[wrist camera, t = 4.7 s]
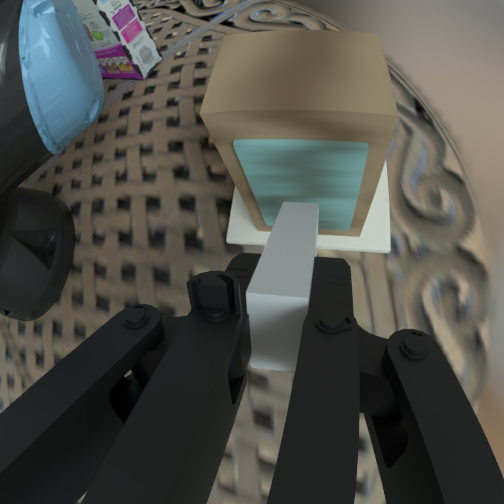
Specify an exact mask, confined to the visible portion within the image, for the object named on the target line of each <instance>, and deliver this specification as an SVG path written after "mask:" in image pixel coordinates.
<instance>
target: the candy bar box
mask: <svg viewBox="0 0 504 504" xmlns="http://www.w3.org/2000/svg"><path fill="white" fill-rule="evenodd" d="M72 2H73V3H74V5H75V7H76V9H77V11H78V13H79V16H80V18H81V20H82V22H83V25H84V27H85V29H86V32H87V34H88V37H89V39H90V42H91V44H92V47H93V50H94V53H95V56H96V59H97V62H98V65H99V68H100V72H101V76H102V79H141V80H144V79H146V77H147V76H148V75H149V74H150V73H151V72H152V71H153V69H154V68H155V67H156V66H157V65H158V64H159V63H160V62H161V60H162V59H163V57H162V55H161V53H160V51H159V49H158V48H157V46H156V44H155V42H154V40H153V38H152V36H151V35H150V33H149V31H148V29H147V27H146V25H145V23H144V22H143V20H142V18H141V16H140V15H139V13H138V11H137V9H136V7H135V5H134V3H133V1H132V0H72Z"/></svg>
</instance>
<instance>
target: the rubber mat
mask: <svg viewBox="0 0 504 504" xmlns="http://www.w3.org/2000/svg"><path fill="white" fill-rule="evenodd" d="M270 233H271V232H264V231H258V230H257V228H256V226H255V224H254V222H253V220H252V218H251V216H250V214H249V212H248V210H247V208H246V206H245V203H244V201H243V199H242V197H241V195H240V193H239V191H238V189H237V187H236V185H235V189H234V195H233V201H232V207H231V214H230V220H229V226H228V233H227V239H226V241H227V242H228V243H232V244H249V245H266V243H267V240H268V238H269V235H270ZM317 249H332V250H348V251H363V252H379V253H389V252H390V214H389V195H388V180H387V168H386V160H385V164H384V167H383V170H382V173H381V176H380V179H379V183H378V186H377V189H376V192H375V195H374V198H373V201H372V204H371V206H370V209H369V212H368V215H367V218H366V221H365V224H364V226H363V229H362V232H361V235H360V237H351V236H335V235H318V237H317Z"/></svg>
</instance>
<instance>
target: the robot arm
mask: <svg viewBox="0 0 504 504" xmlns="http://www.w3.org/2000/svg"><path fill="white" fill-rule="evenodd" d="M103 105H104V85H103V80H102V76H101V72H100V68H99V65H98V62H97V59H96V56H95V53H94V50H93V47H92V44H91V42H90V39H89V37H88V34H87V32H86V29H85V27H84V25H83V22H82V20H81V18H80V16H79V13H78V11H77V9H76V7H75V5H74V3H73V2H72V0H0V313H1V314H3V315H4V316H6V317H9V318H12V319H17V320H22V321H31V320H34V319H37V318H39V317H40V316H42V315H43V314H44V313H45V312H47V311H48V310H49V308H50V307H51V306H52V305H53V304H54V302H55V301H56V299H57V298H58V296H59V294H60V292H61V291H62V289H63V286H64V284H65V282H66V279H67V276H68V273H69V270H70V267H71V263H72V258H73V252H74V239H75V237H74V225H73V220H72V216H71V214H70V212H69V210H68V208H67V207H66V205H65V204H64V203H63V202H61V201H60V200H58V199H57V198H55V197H54V196H52V195H51V194H49V193H47V192H44V191H39V190H34V189H28V188H22V187H18V186H19V185H20V184H21V183H22V182H23V181H24V180H25V179H27V178H28V177H29V176H30V175H31V174H32V173H34V172H35V171H36V170H37V169H38V168H39V167H41V166H42V165H43V164H44V163H46V162H47V161H48V160H49V159H50V158H52V157H53V156H54V155H59V154H60V153H61V152H63V150H64V149H65V148H66V145H67V144H68V143H69V142H71V141H72V140H73V139H74V138H75V137H77V136H78V135H79V134H80V133H82V132H83V131H84V130H85V129H87V128H88V127H89V126H91V125H92V124H93V123H94V122H95V121H96V120H97V118H98V117H99V115H100V113H101V111H102V108H103ZM318 215H319V203H300V202H283V204H282V206H281V209H280V211H279V213H278V216H277V218H276V221H275V223H274V226H273V228H272V231H271V233H270V235H269V238H268V240H267V243H266V245H265V248H264V250H263V252H262V254H254V253H240V254H239V255H237V256H236V257H235V258H233V259H232V260H231V262H230V263H229V265H228V267H227V270H225V272H223V271H208V272H204V273H200V274H198V275H196V276H194V277H192V278H191V279H190V280H189V281H188V282H187V289H188V294H189V299H190V304H191V311H190V312H189V314H188V315H187V316H181V317H171V318H161V315H160V313H159V311H158V309H157V308H155V307H153V306H152V305H147V304H137V305H133V306H130V307H127V308H125V309H123V310H122V311H120V312H119V313H118V314H116V315H115V316H114V317H113V318H111V319H110V320H109V321H108V322H107V323H105V324H104V325H103V326H102V327H100V328H99V329H98V330H97V331H96V332H94V333H93V334H92V335H91V336H90V337H88V338H87V339H86V340H85V341H84V342H82V343H81V344H80V345H79V346H78V347H76V348H75V349H74V350H73V351H72V352H70V353H69V354H68V355H67V356H66V357H65V358H63V359H62V360H61V361H60V362H59V363H58V364H56V365H55V366H54V367H53V368H52V369H51V370H49V371H48V372H47V373H46V374H45V375H44V376H42V377H41V378H40V379H39V380H38V381H37V382H36V383H34V384H33V385H32V386H31V387H30V388H29V389H28V390H26V391H25V392H24V393H23V394H22V395H21V396H20V397H19V398H17V399H16V400H15V401H14V402H13V403H12V404H11V405H10V406H8V407H7V408H6V409H5V410H4V411H3V412H2V413H1V414H0V504H75V503H76V502H77V501H78V500H79V499H80V498H81V497H82V496H83V495H84V494H85V492H86V491H87V490H88V491H87V493H86V495H85V497H84V498H83V500H82V502H81V504H206V503H207V500H208V498H209V495H210V492H211V489H212V486H213V483H214V480H215V478H216V475H217V472H218V469H219V466H220V463H221V460H222V457H223V454H224V451H225V448H226V445H227V442H228V439H229V436H230V433H231V430H232V427H233V424H234V421H235V417H236V414H237V411H238V408H239V405H240V402H241V399H242V396H243V392H244V389H245V386H246V383H247V365H248V362H249V359H251V367H253V368H261V369H269V370H277V371H286V372H295V375H294V381H293V386H292V391H291V396H290V402H289V407H288V412H287V417H286V422H285V426H284V431H283V436H282V441H281V445H280V450H279V454H278V459H277V463H276V467H275V472H274V476H273V480H272V484H271V488H270V492H269V496H268V500H267V504H354V499H355V489H356V477H357V462H358V444H359V412H362V413H364V417H365V420H366V424H367V427H368V431H369V435H370V438H371V442H372V446H373V450H374V453H375V457H376V461H377V465H378V469H379V473H380V477H381V481H382V485H383V490H384V494H385V498H386V503H387V504H504V479H503V476H502V473H501V471H500V468H499V466H498V463H497V461H496V459H495V456H494V454H493V452H492V449H491V447H490V445H489V443H488V440H487V438H486V436H485V434H484V431H483V429H482V427H481V425H480V423H479V421H478V419H477V417H476V415H475V413H474V411H473V409H472V407H471V405H470V403H469V401H468V399H467V397H466V395H465V393H464V391H463V389H462V387H461V385H460V383H459V381H458V380H457V378H456V376H455V374H454V372H453V370H452V369H451V367H450V365H449V363H448V362H447V360H446V358H445V356H444V355H443V353H442V351H441V349H440V348H439V346H438V344H437V343H436V342H435V341H434V339H433V338H432V337H431V336H429V335H428V334H426V333H424V332H422V331H418V330H415V329H402V330H399V331H396V332H395V333H393V334H392V335H391V336H390V337H389V339H385V338H382V337H379V336H375V335H373V334H370V333H368V332H367V331H365V330H363V329H362V328H361V327H360V326H359V325H358V324H357V321H356V318H355V317H354V314H353V297H352V286H351V285H352V282H351V269H350V266H349V265H348V263H347V262H346V261H345V260H344V259H342V258H328V257H316V255H317V237H318ZM130 369H131V371H132V373H131V374H130V375H129V376H127V377H124V375H125V374H126V373H127V372H128V371H129V370H130Z"/></svg>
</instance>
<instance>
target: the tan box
mask: <svg viewBox="0 0 504 504" xmlns="http://www.w3.org/2000/svg"><path fill="white" fill-rule="evenodd" d="M199 114H200V116H201V118H202V120H203V122H204V124H205V126H206V128H207V129H208V131H209V133H210V135H211V137H212V139H213V141H214V143H215V145H216V147H217V149H218V151H219V153H220V155H221V157H222V159H223V161H224V163H225V165H226V167H227V169H228V171H229V173H230V175H231V177H232V179H233V181H234V183H235V185H236V187H237V189H238V191H239V193H240V195H241V197H242V199H243V201H244V203H245V206H246V208H247V210H248V212H249V214H250V216H251V218H252V220H253V222H254V224H255V226H256V228H257V230H258V231H264V232H271V231H272V228H273V226H274V223H275V221H276V218H277V216H278V213H279V211H280V209H281V206H282V204H283V202H300V203H319V215H318V235H335V236H351V237H360V235H361V232H362V229H363V226H364V224H365V221H366V218H367V215H368V212H369V209H370V206H371V204H372V201H373V198H374V195H375V192H376V189H377V186H378V183H379V179H380V176H381V173H382V170H383V167H384V164H385V160H386V157H387V154H388V150H389V147H390V144H391V140H392V137H393V133H394V129H395V126H396V122H397V118H398V112H397V107H396V102H395V97H394V92H393V88H392V84H391V79H390V75H389V71H388V67H387V63H386V59H385V55H384V52H383V48H382V45H381V41H380V38H379V34H375V33H365V32H352V31H333V30H282V31H263V32H250V33H240V34H231V35H225V36H224V38H223V41H222V44H221V47H220V50H219V53H218V56H217V59H216V62H215V65H214V68H213V71H212V74H211V77H210V80H209V83H208V87H207V90H206V93H205V96H204V100H203V103H202V106H201V110H200V113H199Z"/></svg>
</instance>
